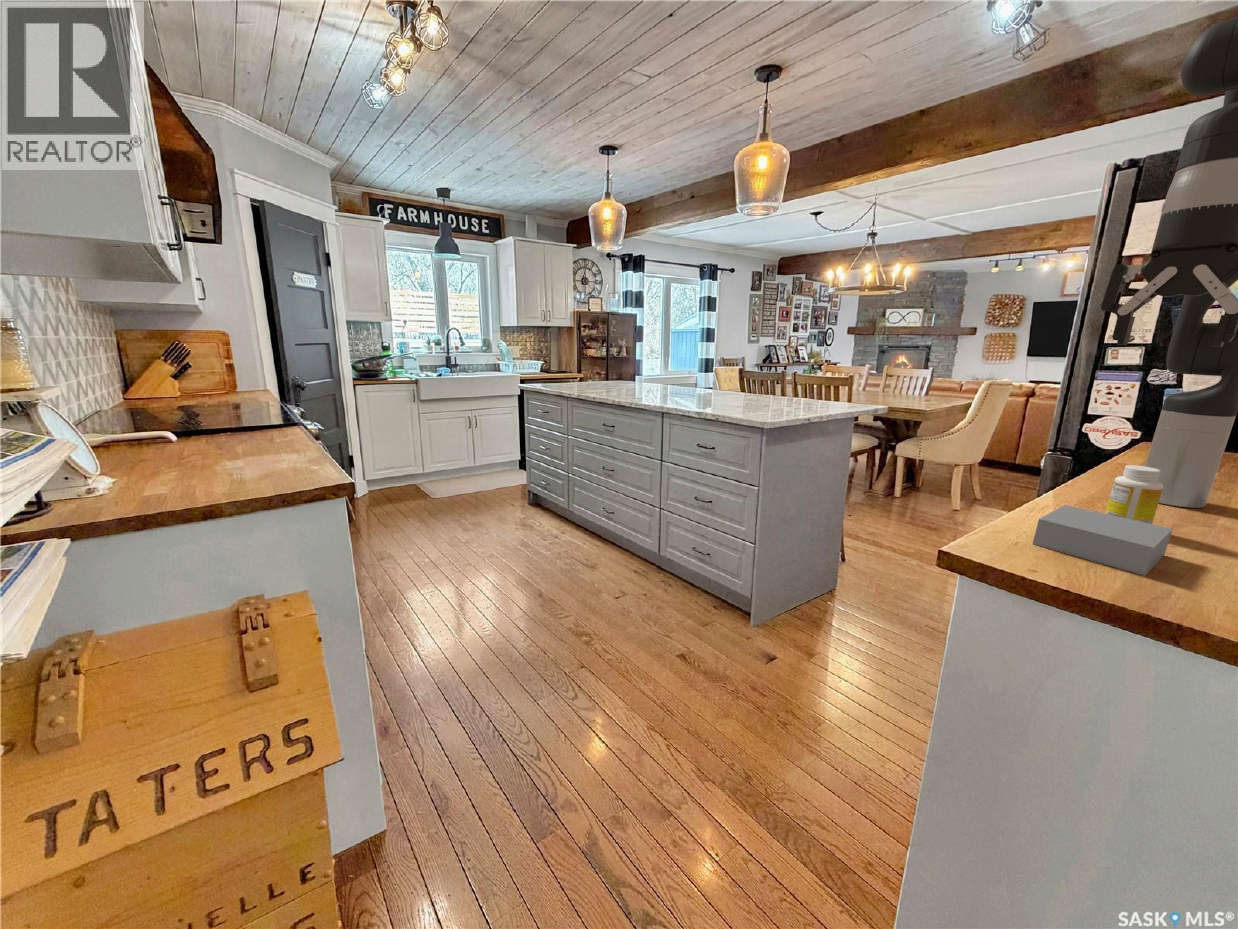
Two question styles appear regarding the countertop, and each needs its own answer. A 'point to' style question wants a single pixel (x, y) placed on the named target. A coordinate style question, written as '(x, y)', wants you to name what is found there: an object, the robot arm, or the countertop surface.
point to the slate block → (1103, 538)
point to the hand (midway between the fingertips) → (1166, 345)
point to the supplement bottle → (1136, 494)
